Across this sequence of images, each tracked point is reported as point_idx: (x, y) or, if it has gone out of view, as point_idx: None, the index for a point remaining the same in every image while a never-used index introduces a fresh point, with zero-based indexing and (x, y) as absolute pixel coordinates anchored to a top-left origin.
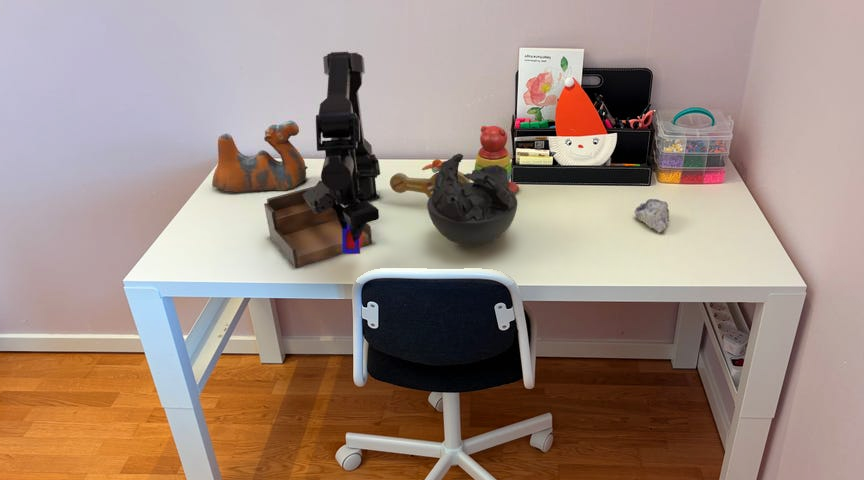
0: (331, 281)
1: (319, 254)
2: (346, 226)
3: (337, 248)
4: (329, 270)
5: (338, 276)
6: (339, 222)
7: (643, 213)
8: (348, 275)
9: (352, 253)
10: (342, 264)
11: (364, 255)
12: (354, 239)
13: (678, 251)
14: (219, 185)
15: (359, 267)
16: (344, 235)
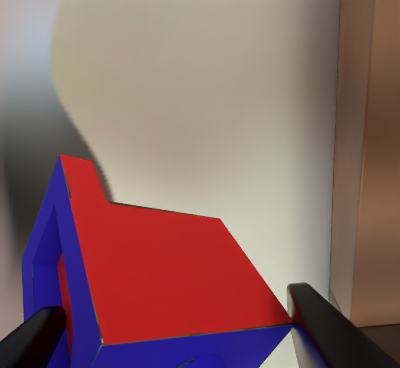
0: (59, 8)
1: (357, 13)
2: (299, 350)
3: (349, 148)
4: (190, 35)
5: (102, 66)
6: (366, 349)
7: None
8: (93, 121)
9: (35, 221)
10: (219, 126)
11: (248, 244)
12: (22, 331)
13: None
14: None
15: (150, 193)
16: (74, 291)
